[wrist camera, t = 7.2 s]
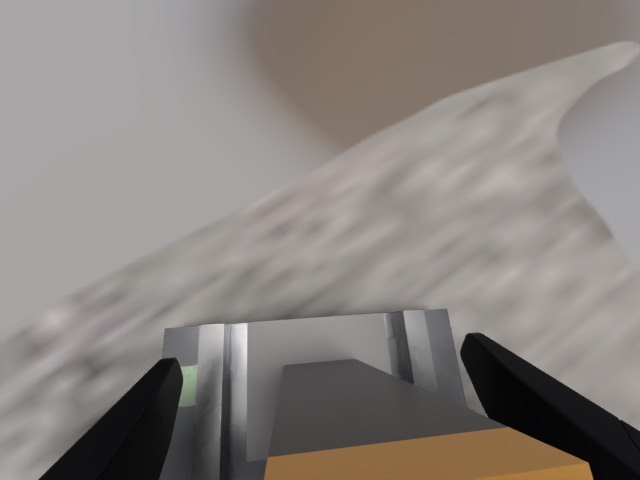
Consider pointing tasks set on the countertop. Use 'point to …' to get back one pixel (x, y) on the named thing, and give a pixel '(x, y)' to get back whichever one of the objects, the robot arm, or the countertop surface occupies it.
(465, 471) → the breaker handle
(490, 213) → the countertop surface
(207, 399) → the breaker housing
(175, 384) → the robot arm
